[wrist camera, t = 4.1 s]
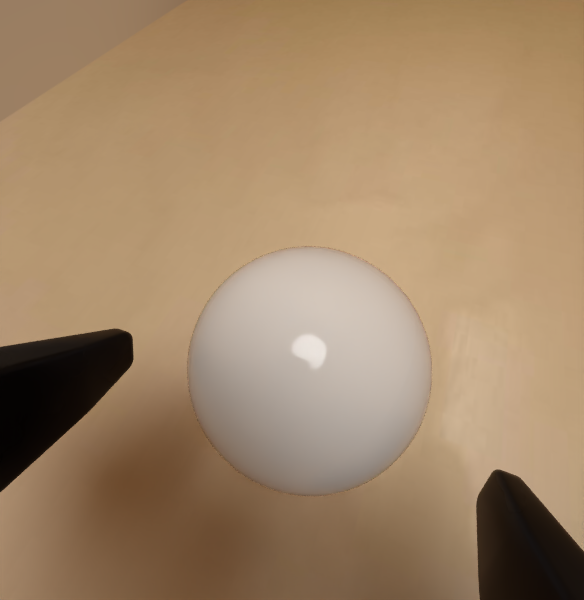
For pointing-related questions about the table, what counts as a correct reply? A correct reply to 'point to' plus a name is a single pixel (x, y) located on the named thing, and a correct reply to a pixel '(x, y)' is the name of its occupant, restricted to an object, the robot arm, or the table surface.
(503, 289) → the table surface
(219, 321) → the lightbulb
